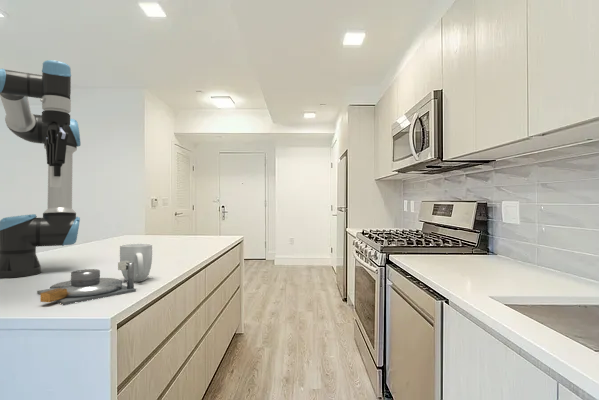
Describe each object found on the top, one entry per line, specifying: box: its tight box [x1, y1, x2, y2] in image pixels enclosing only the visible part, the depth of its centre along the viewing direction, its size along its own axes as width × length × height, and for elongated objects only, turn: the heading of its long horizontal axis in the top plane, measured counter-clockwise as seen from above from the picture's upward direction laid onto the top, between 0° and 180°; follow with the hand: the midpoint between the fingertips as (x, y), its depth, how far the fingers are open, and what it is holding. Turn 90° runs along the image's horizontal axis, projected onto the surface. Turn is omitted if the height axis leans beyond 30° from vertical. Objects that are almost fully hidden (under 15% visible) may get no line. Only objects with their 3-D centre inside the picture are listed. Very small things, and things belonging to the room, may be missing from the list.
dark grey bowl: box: [70, 268, 101, 287], centre depth 120 cm, size 8×8×4 cm
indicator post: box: [117, 261, 135, 289], centre depth 122 cm, size 5×5×9 cm
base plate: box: [36, 284, 137, 306], centre depth 119 cm, size 21×21×1 cm
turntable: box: [39, 277, 123, 303], centre depth 116 cm, size 20×26×2 cm
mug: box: [119, 242, 153, 283], centre depth 136 cm, size 15×11×13 cm
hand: (55, 187), depth 117 cm, fingers closed
